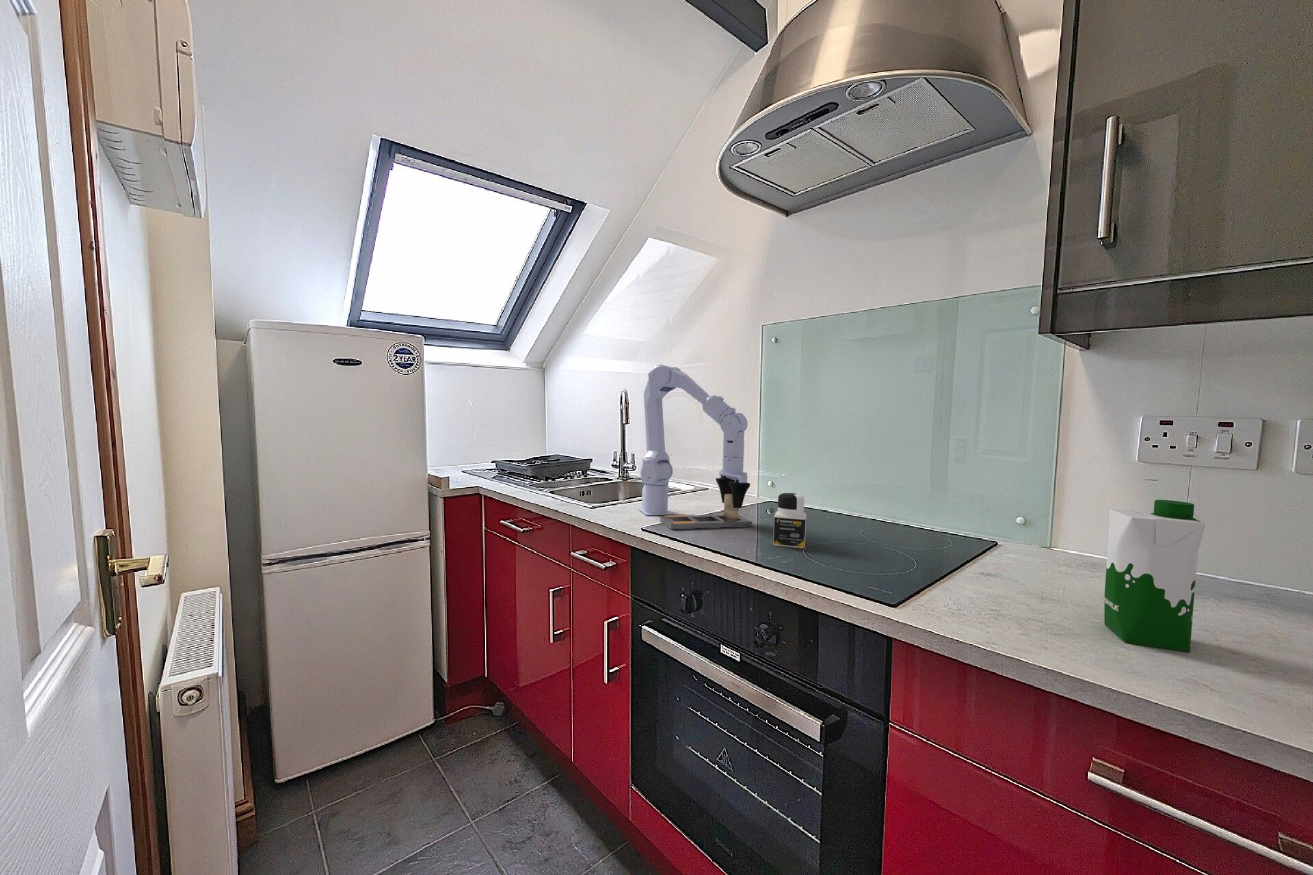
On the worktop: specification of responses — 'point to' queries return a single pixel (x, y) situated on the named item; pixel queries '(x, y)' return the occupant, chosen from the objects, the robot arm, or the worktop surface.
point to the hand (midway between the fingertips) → (731, 505)
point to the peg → (729, 509)
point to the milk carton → (1152, 574)
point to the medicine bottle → (790, 521)
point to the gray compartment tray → (702, 521)
